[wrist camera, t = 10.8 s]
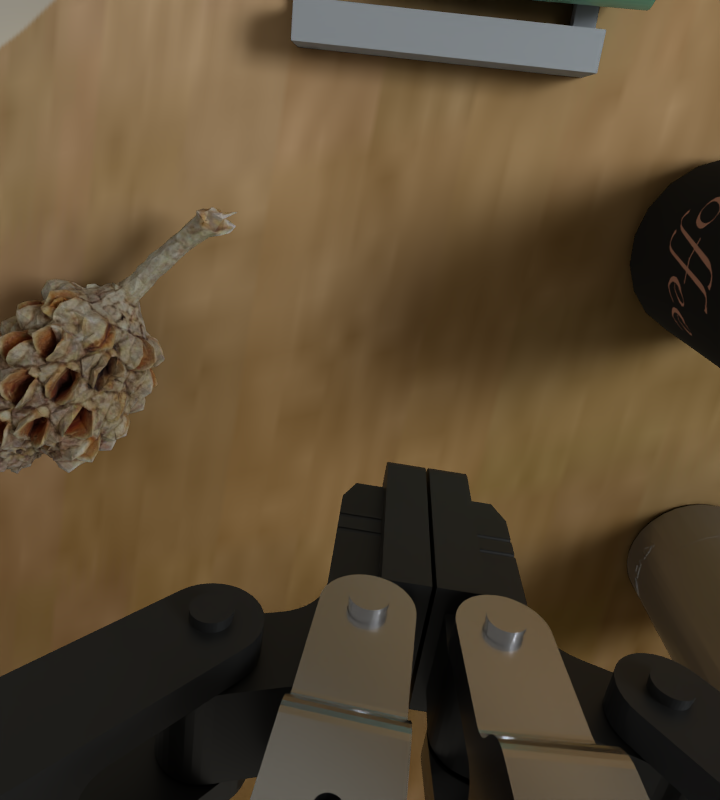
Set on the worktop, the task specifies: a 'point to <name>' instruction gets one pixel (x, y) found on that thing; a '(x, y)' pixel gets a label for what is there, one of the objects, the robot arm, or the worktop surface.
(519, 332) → the worktop surface
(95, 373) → the pine cone
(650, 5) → the bottle
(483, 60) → the cradle
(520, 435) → the worktop surface
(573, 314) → the worktop surface
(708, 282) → the coffee jar
